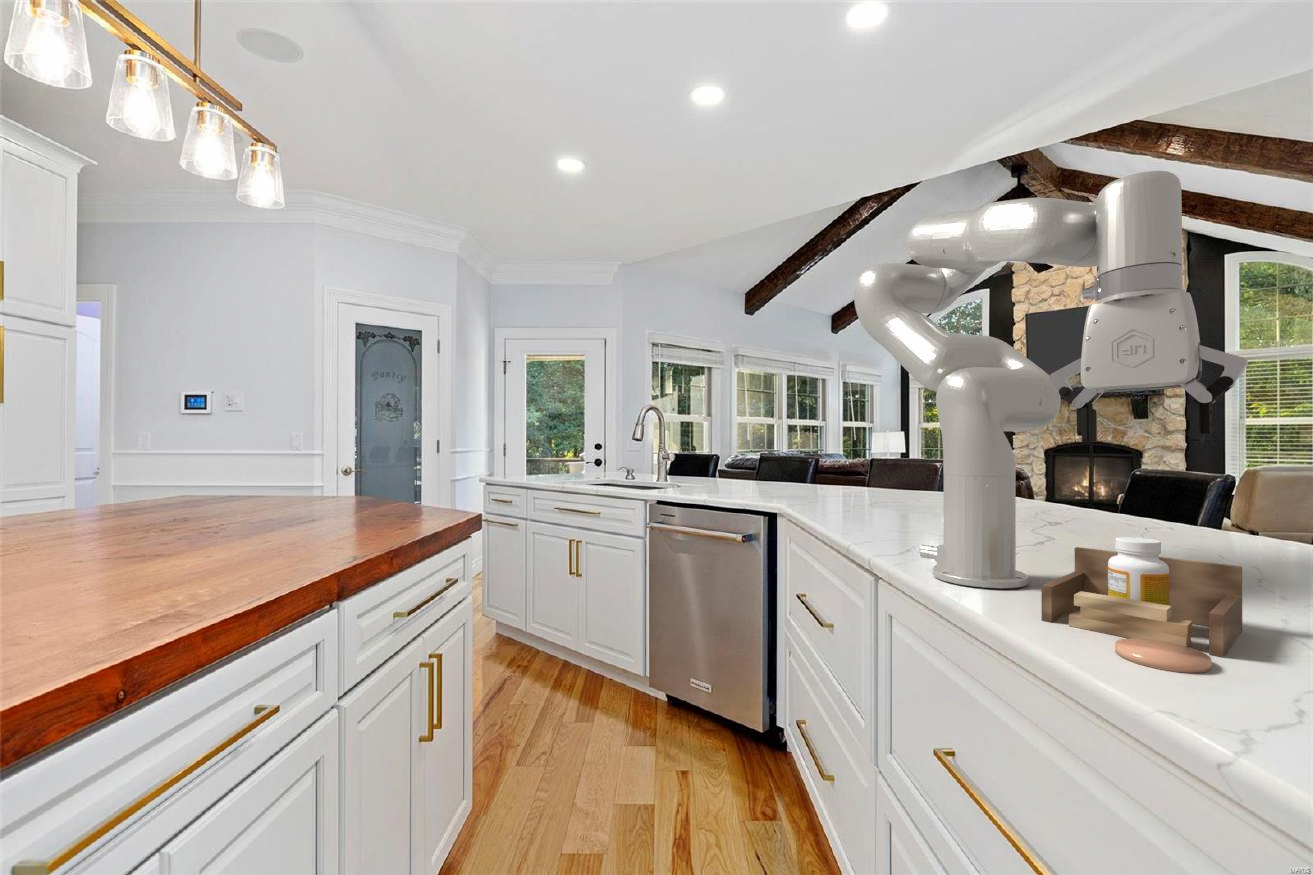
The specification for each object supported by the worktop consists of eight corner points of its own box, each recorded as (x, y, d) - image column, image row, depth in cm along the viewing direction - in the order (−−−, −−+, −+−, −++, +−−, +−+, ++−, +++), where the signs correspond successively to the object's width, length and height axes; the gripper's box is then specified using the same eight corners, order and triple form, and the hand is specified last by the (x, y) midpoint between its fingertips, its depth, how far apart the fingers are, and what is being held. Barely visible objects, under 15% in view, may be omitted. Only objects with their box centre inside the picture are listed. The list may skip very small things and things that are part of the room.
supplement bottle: (1171, 626, 68) (1171, 539, 68) (1167, 637, 64) (1166, 545, 64) (1112, 616, 71) (1112, 534, 71) (1104, 626, 68) (1104, 539, 68)
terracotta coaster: (1106, 657, 58) (1106, 648, 58) (1125, 641, 62) (1125, 633, 62) (1203, 679, 53) (1203, 670, 53) (1217, 660, 57) (1217, 652, 57)
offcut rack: (1041, 620, 70) (1041, 559, 70) (1077, 601, 78) (1077, 547, 78) (1223, 657, 58) (1222, 584, 58) (1242, 630, 66) (1242, 566, 66)
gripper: (1039, 298, 72) (1041, 442, 72) (1240, 265, 59) (1243, 441, 58) (1060, 308, 77) (1062, 442, 76) (1250, 278, 63) (1253, 441, 63)
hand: (1140, 442), depth 67 cm, fingers open, 9 cm apart
